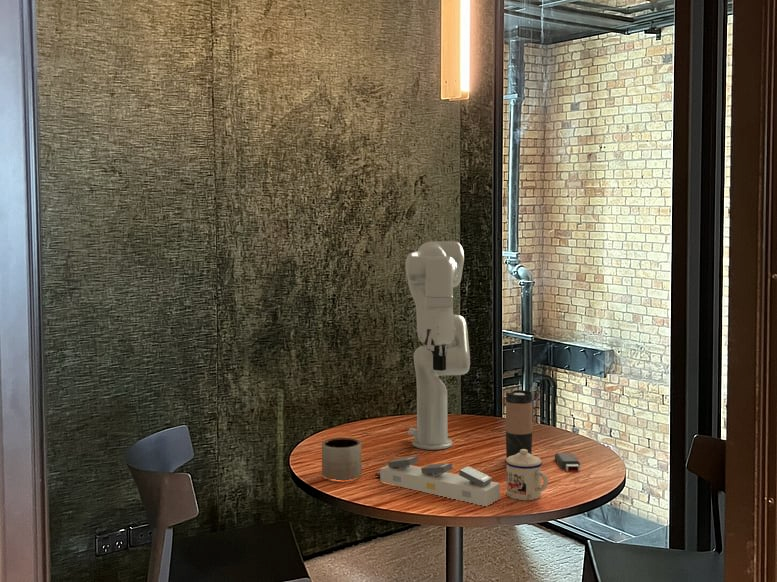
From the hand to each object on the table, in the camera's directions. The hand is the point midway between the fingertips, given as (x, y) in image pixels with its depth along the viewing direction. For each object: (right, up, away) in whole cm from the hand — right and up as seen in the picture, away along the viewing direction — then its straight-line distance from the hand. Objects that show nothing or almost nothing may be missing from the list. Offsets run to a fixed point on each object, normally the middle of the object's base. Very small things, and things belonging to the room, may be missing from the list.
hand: (439, 369), depth 210 cm
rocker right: (+8, -25, -18) cm, 32 cm away
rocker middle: (-1, -25, -12) cm, 28 cm away
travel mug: (+24, -28, +14) cm, 40 cm away
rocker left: (-10, -25, -6) cm, 27 cm away
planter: (-27, -30, +1) cm, 40 cm away
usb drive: (+37, -29, +9) cm, 48 cm away
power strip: (-3, -30, -11) cm, 32 cm away
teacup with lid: (+21, -30, -17) cm, 41 cm away
